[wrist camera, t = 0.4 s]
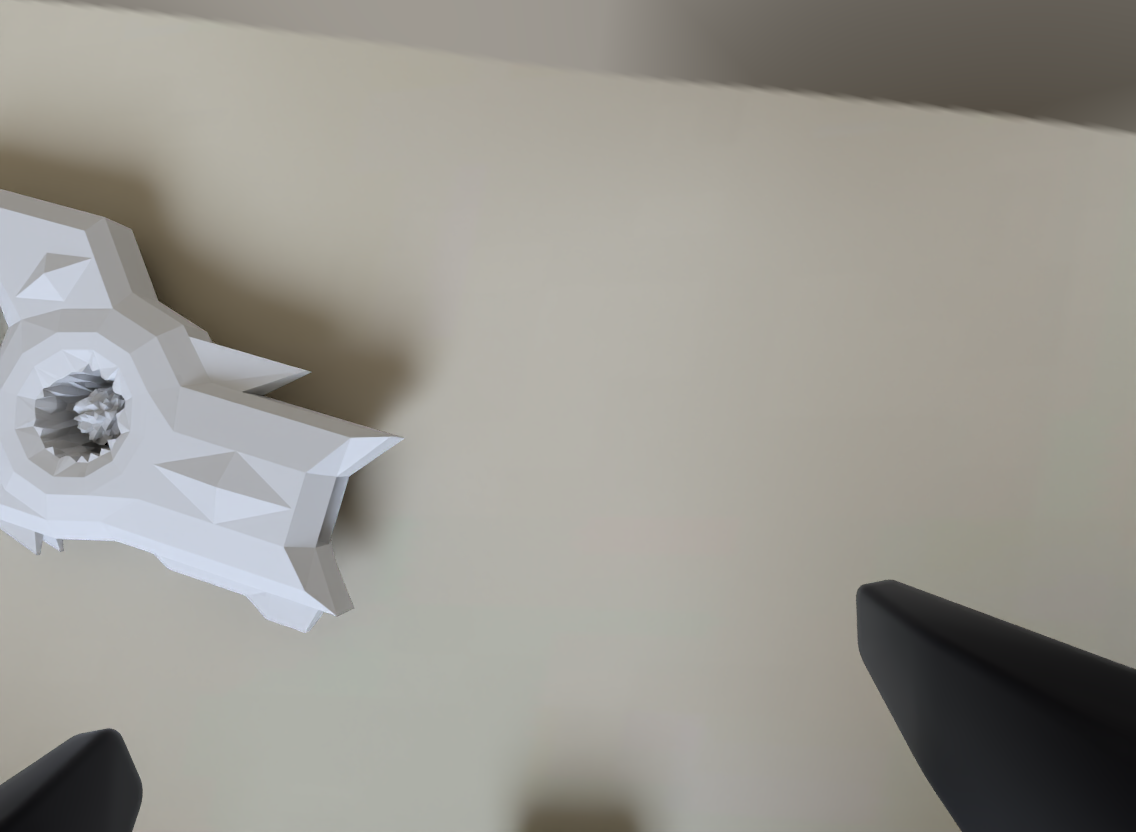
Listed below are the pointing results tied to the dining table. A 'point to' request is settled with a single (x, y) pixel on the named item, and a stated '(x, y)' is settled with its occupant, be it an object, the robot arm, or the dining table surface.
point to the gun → (158, 425)
